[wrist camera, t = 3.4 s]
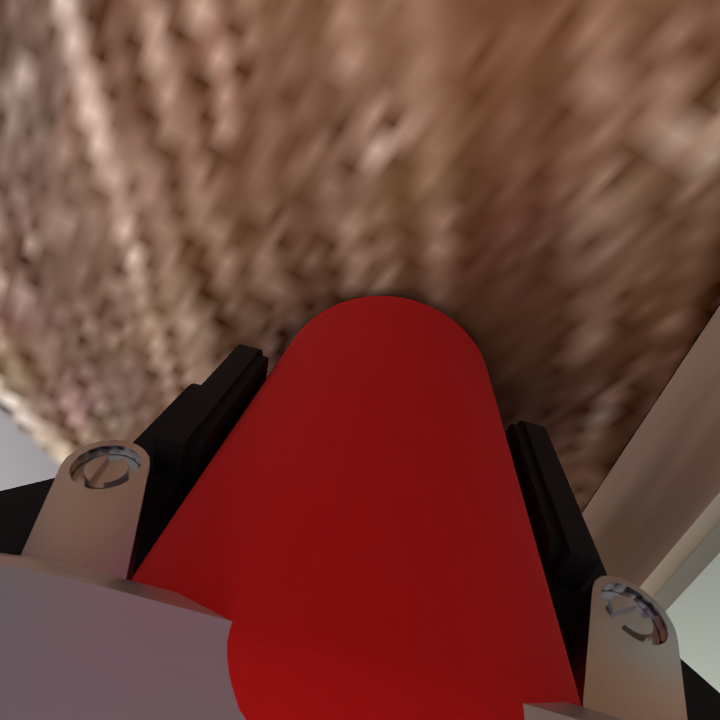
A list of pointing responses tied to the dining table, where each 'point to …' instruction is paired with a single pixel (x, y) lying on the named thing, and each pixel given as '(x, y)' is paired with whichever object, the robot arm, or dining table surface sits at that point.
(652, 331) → the dining table surface
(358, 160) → the dining table surface
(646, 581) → the podium
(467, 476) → the beverage can
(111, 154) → the dining table surface
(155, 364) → the dining table surface
